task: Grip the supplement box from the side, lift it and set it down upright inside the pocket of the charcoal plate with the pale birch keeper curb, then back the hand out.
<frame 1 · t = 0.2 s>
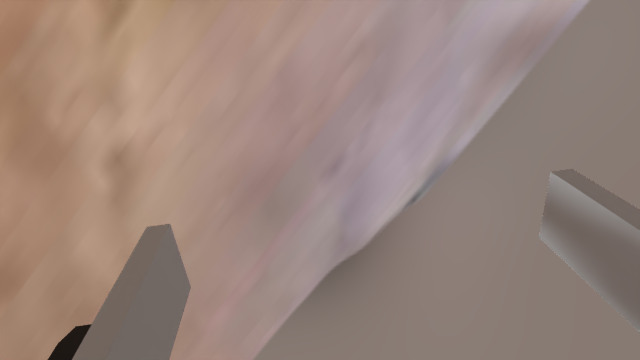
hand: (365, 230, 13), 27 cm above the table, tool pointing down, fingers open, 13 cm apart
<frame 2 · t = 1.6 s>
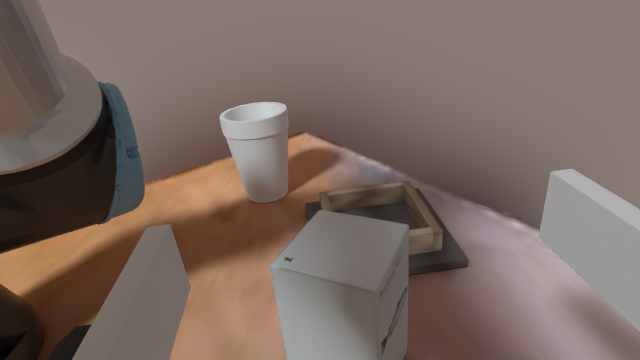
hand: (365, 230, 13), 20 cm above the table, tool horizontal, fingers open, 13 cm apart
keeper cradle: (375, 234, 47), on the table
foam cup: (268, 193, 60), on the table
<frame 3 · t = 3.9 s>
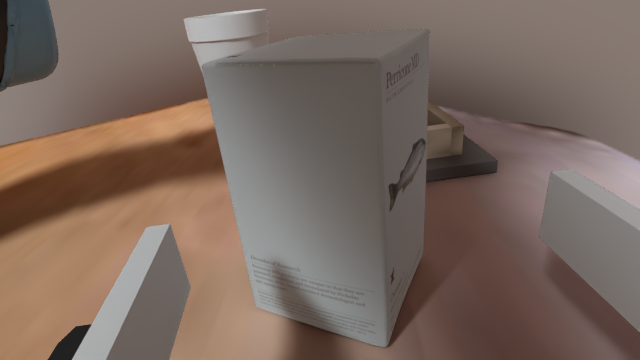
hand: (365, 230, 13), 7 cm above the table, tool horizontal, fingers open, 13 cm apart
supplement box: (345, 283, 21), on the table
keeper cradle: (375, 148, 38), on the table
foam cup: (247, 123, 50), on the table
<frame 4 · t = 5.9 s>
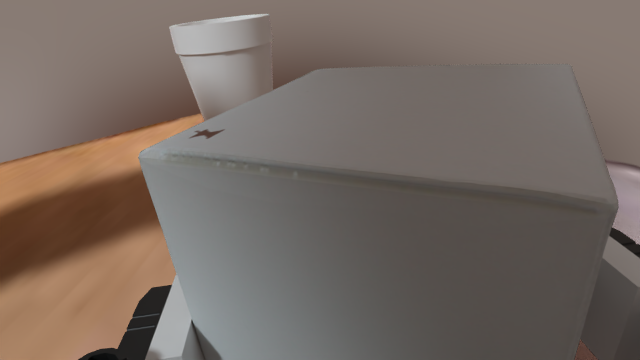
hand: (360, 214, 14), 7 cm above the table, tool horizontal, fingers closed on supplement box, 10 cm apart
foam cup: (246, 148, 43), on the table
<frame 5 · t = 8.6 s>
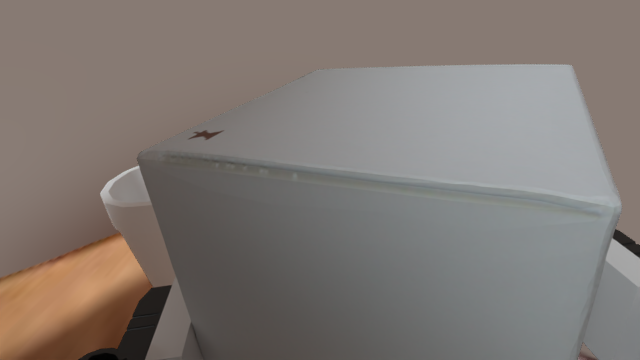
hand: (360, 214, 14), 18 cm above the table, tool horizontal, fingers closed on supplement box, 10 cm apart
foam cup: (201, 298, 38), on the table
when the fingers open (9 cm above the table, at t = 11.6 s): supplement box drops 1 cm, resting on keeper cradle.
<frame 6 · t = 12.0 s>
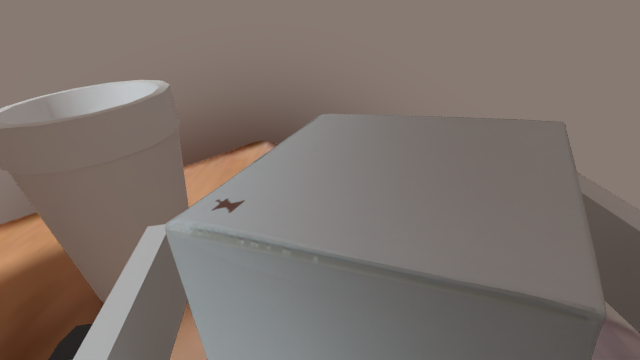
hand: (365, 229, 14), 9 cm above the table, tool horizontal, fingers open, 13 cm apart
foam cup: (151, 282, 27), on the table
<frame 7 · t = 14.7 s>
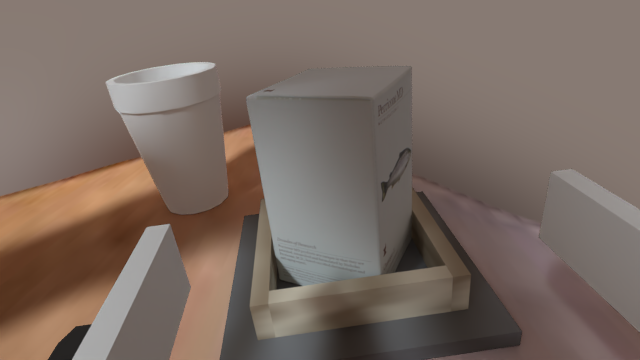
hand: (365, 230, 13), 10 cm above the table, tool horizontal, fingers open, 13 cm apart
supplement box: (349, 262, 27), point 1 cm above the table, touching keeper cradle
keeper cradle: (348, 270, 28), on the table
foam cup: (198, 200, 40), on the table
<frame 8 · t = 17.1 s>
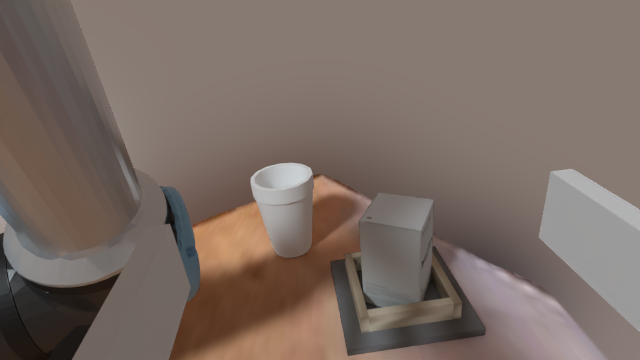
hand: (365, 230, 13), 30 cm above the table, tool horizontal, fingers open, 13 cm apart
supplement box: (398, 292, 51), point 1 cm above the table, touching keeper cradle
keeper cradle: (397, 296, 51), on the table
foam cup: (292, 246, 64), on the table
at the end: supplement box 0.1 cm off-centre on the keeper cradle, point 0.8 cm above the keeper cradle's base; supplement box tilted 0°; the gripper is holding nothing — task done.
